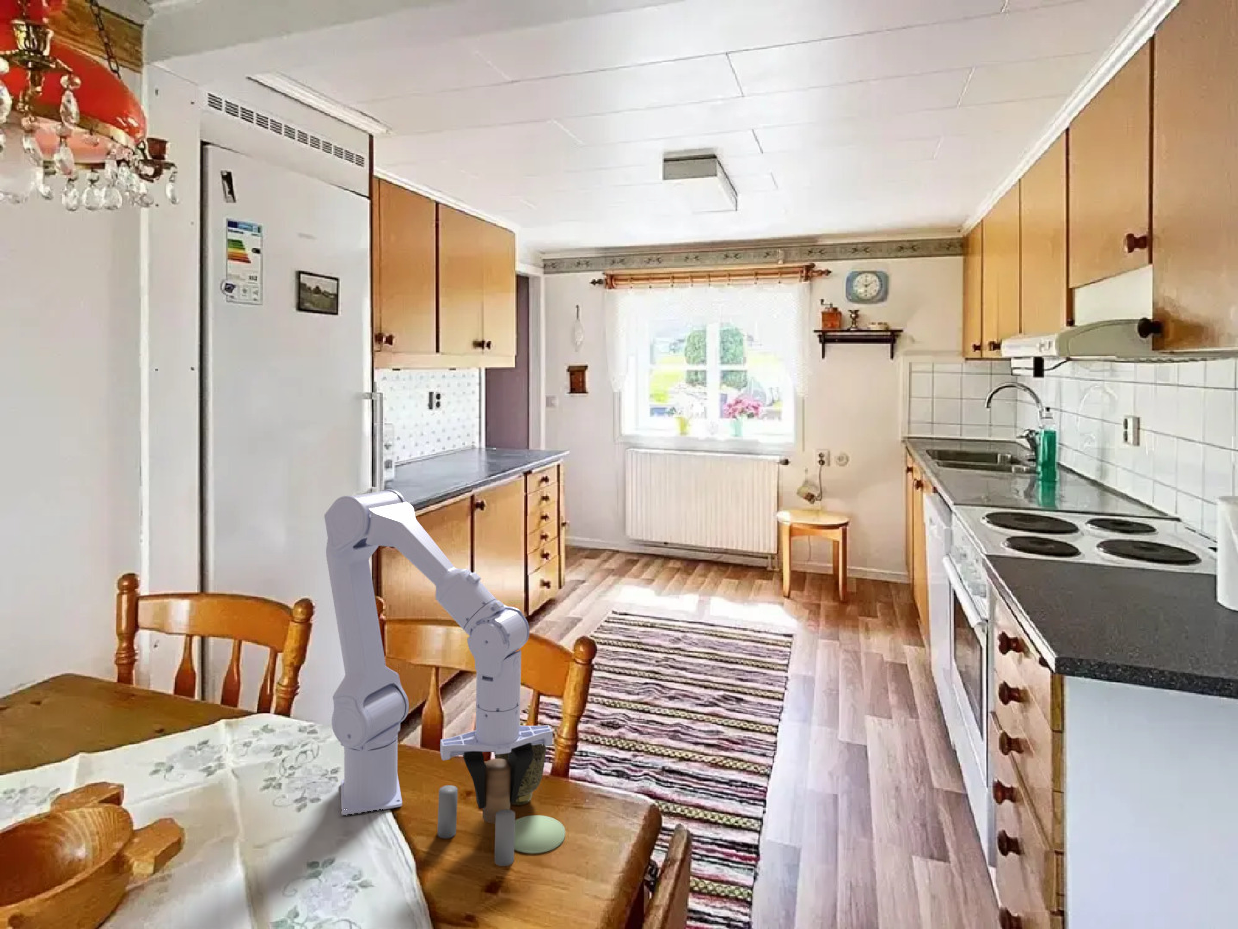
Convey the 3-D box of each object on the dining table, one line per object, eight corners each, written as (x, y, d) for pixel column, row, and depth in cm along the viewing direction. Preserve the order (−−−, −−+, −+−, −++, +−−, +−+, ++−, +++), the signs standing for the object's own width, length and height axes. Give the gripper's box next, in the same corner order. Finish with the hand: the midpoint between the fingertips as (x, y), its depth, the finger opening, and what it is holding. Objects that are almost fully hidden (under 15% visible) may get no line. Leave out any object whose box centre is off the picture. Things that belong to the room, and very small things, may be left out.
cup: (520, 781, 112) (521, 730, 112) (555, 799, 108) (557, 746, 107) (482, 801, 107) (483, 747, 106) (517, 821, 102) (518, 765, 101)
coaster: (499, 824, 101) (499, 821, 101) (555, 814, 104) (555, 811, 104) (512, 858, 94) (512, 855, 94) (572, 846, 97) (572, 843, 97)
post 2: (492, 856, 94) (493, 811, 94) (511, 853, 95) (512, 808, 94) (496, 867, 92) (497, 821, 91) (515, 864, 93) (516, 818, 92)
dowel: (480, 810, 100) (481, 761, 99) (506, 806, 101) (507, 757, 100) (485, 825, 96) (486, 774, 96) (512, 820, 98) (513, 770, 97)
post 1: (436, 829, 99) (437, 787, 99) (454, 826, 100) (455, 784, 100) (439, 840, 97) (440, 796, 97) (457, 836, 98) (459, 793, 98)
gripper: (446, 722, 91) (444, 828, 92) (560, 708, 96) (557, 808, 97) (438, 700, 98) (437, 799, 99) (545, 688, 103) (543, 782, 104)
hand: (496, 802), depth 99 cm, fingers closed on dowel, 4 cm apart
